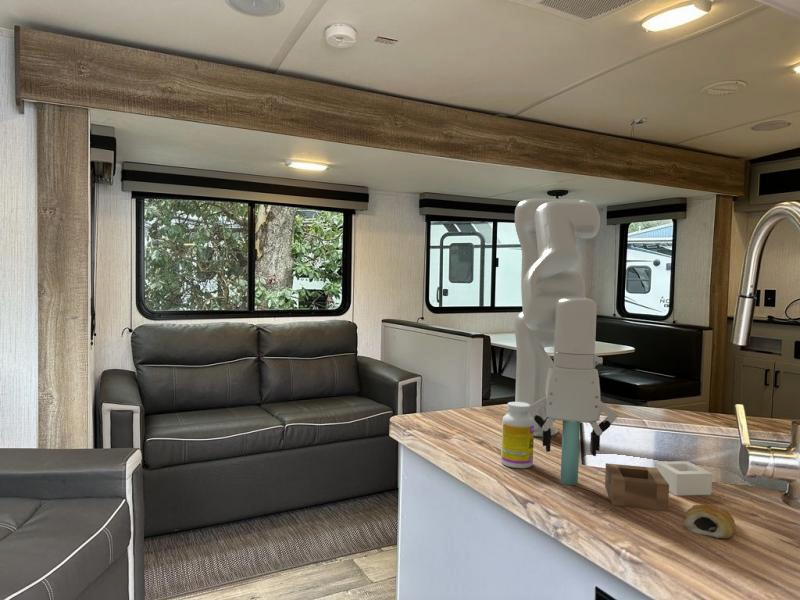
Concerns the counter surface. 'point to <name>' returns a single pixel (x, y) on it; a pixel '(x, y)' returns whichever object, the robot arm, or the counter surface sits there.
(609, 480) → the brown square wooden frame
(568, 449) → the dowel
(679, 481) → the white square holed block
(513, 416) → the supplement bottle
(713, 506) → the pastry
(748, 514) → the counter surface
